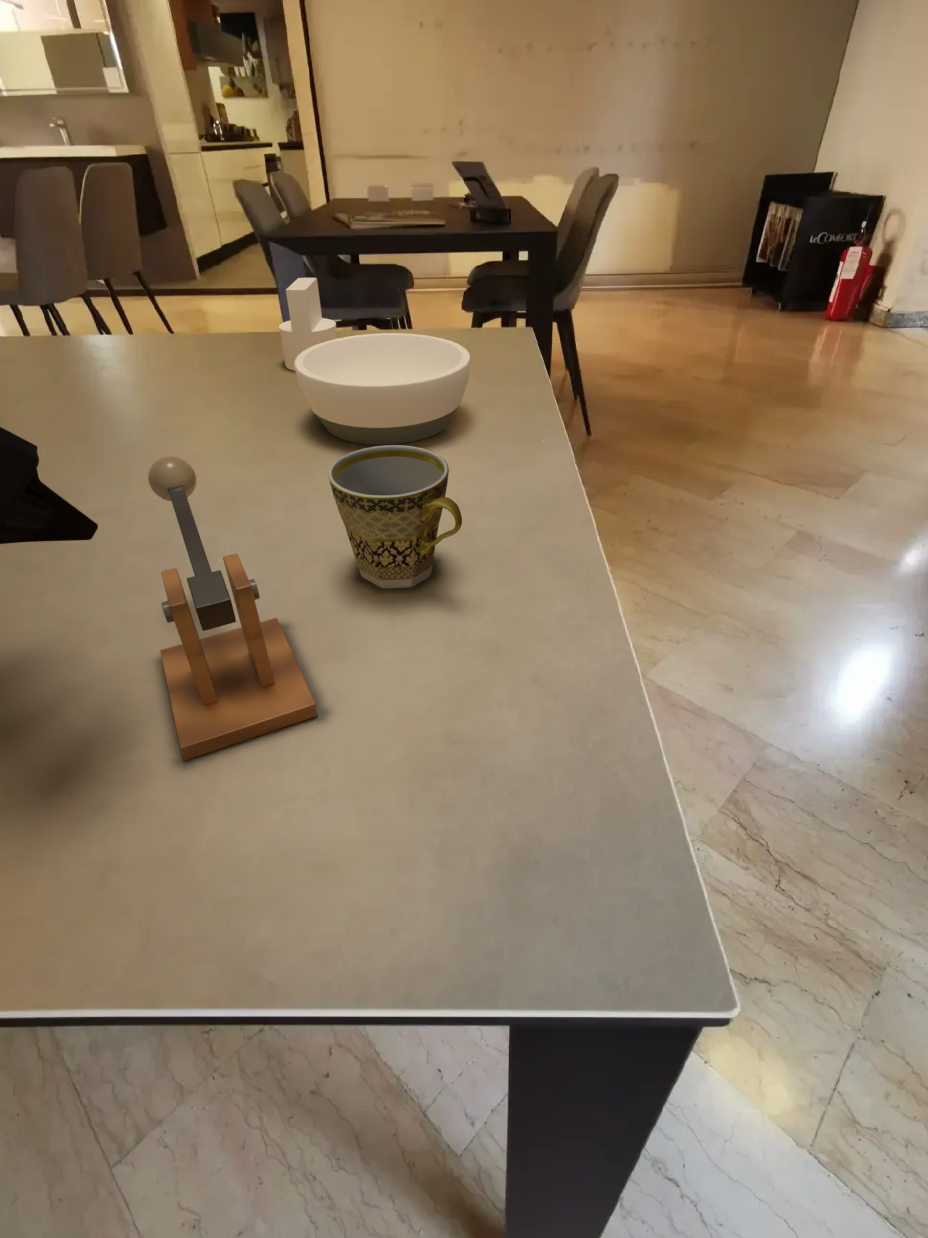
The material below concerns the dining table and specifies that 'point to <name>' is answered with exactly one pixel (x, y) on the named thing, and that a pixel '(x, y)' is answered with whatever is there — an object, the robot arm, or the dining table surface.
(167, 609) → the bracket
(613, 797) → the dining table surface
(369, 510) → the ceramic cup
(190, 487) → the lever
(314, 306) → the cylinder with rectangular tab
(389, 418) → the bowl
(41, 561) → the dining table surface
